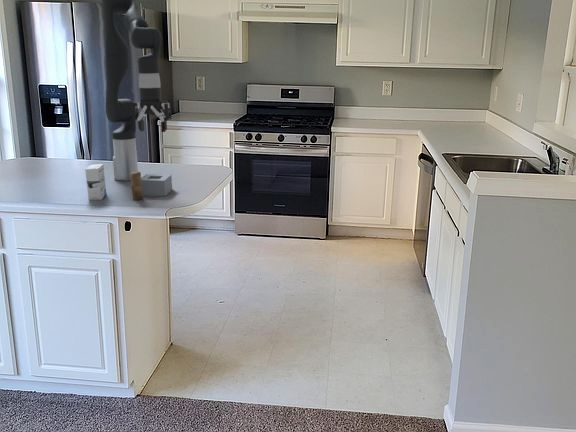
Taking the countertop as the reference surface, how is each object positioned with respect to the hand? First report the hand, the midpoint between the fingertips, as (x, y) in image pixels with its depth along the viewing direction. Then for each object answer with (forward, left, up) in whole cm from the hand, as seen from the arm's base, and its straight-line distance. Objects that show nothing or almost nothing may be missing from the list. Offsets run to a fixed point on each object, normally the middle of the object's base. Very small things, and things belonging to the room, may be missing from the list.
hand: (153, 131), depth 207 cm
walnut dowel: (-6, -6, -24) cm, 26 cm away
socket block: (-2, +4, -24) cm, 25 cm away
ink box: (-22, -4, -25) cm, 33 cm away
